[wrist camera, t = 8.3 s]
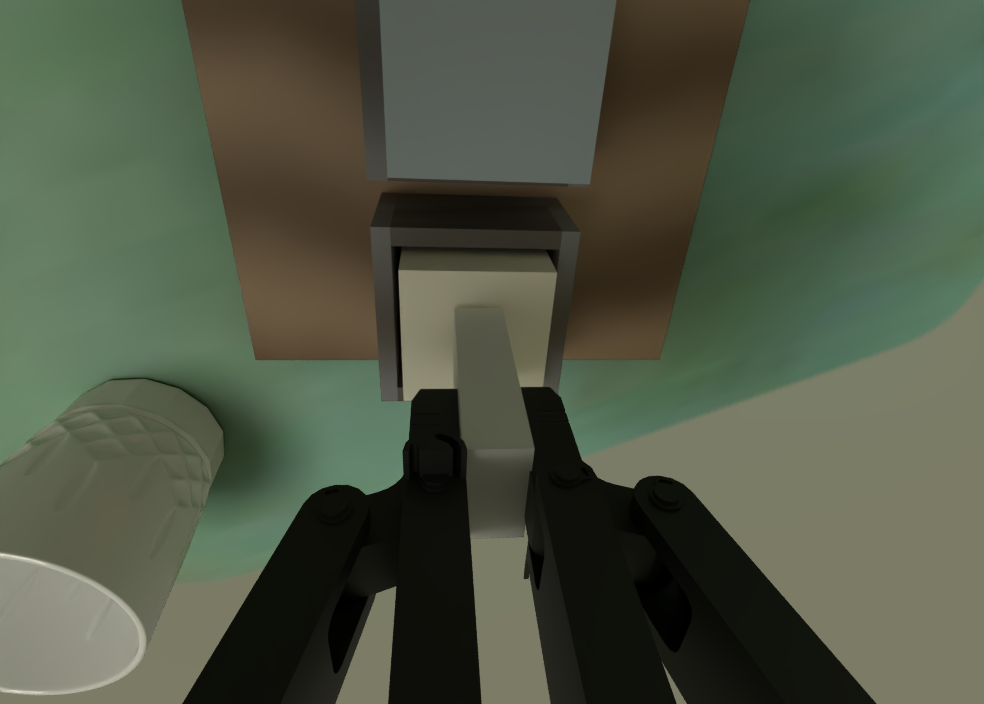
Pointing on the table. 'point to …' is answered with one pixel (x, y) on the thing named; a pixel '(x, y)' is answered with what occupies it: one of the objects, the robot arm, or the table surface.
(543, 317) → the cream key
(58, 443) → the white cup
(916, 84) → the table surface
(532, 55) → the slate key
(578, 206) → the board
